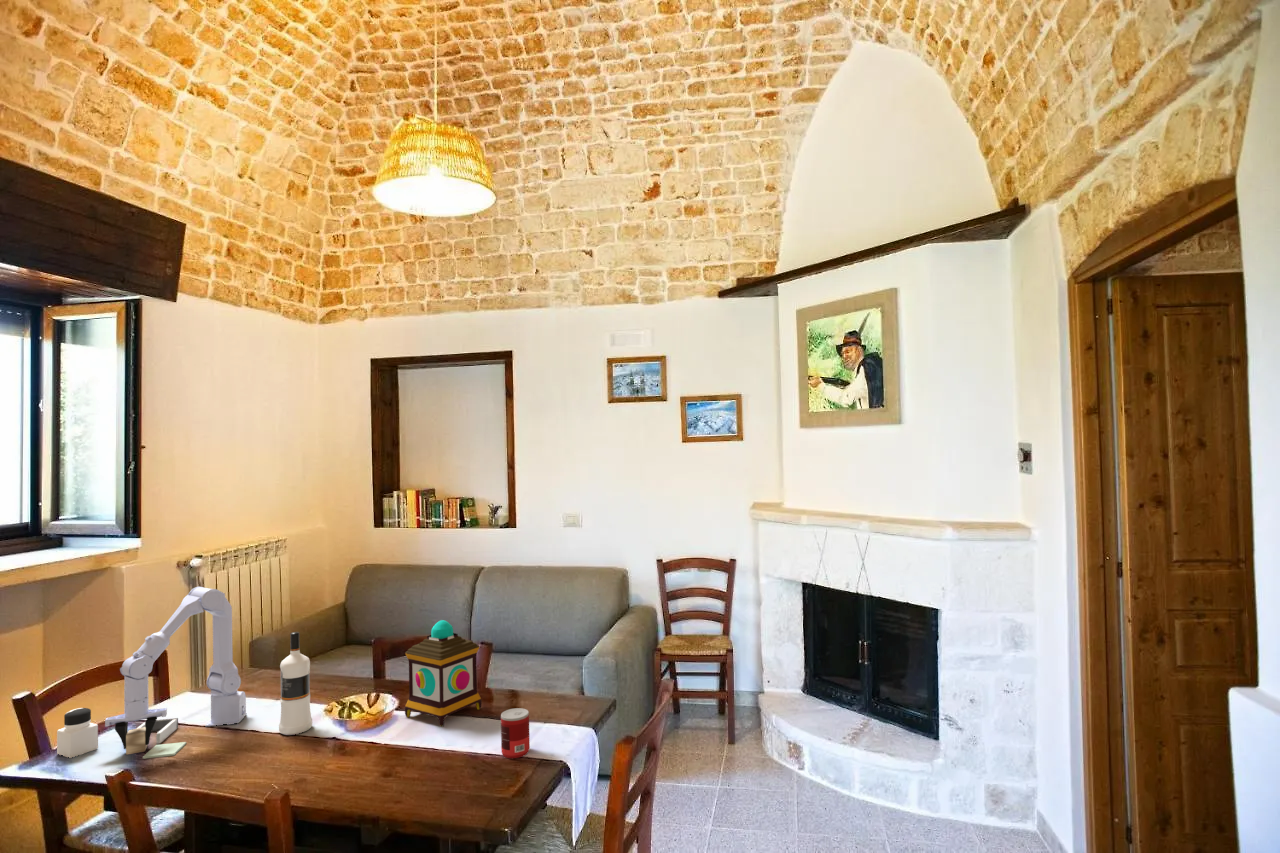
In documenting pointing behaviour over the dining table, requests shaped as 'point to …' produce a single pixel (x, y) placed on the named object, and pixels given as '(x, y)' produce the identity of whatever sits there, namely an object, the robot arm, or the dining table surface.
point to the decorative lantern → (442, 674)
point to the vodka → (295, 691)
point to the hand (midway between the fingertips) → (136, 745)
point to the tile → (164, 750)
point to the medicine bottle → (77, 734)
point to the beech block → (136, 741)
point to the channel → (163, 728)
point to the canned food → (515, 733)
